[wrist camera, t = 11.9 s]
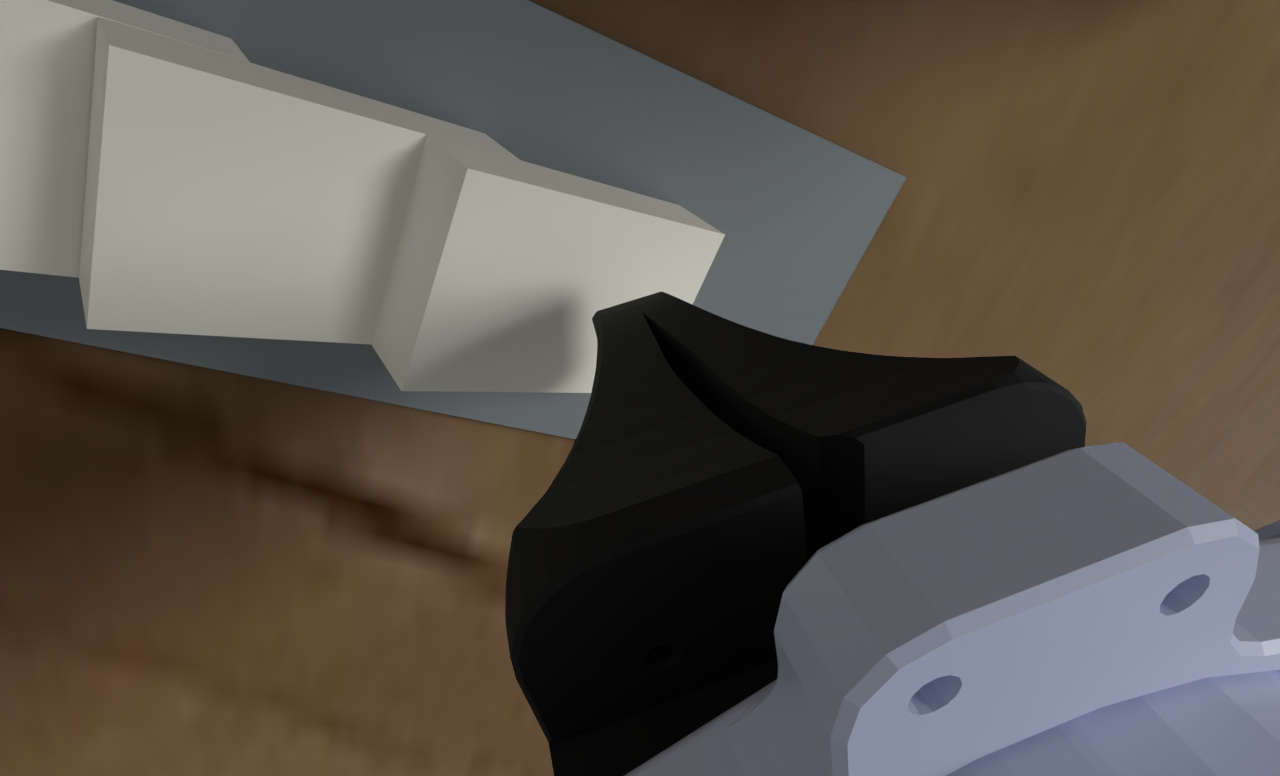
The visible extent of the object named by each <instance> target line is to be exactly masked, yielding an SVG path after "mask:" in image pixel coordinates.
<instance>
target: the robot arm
mask: <svg viewBox="0 0 1280 776" xmlns="http://www.w3.org/2000/svg"><path fill="white" fill-rule="evenodd" d="M592 321H593V325H594V329H595V332H596V336H597V361H596V371H595V376H594V382H593V387H592V392H591V397H590V401H589V404H588V408H587V411H586V414H585V417H584V420H583V423H582V426H581V429H580V431H579V433H578V435H577V438H576V440H575V442H574V445H573V447H572V449H571V451H570V453H569V455H568V457H567V459H566V461H565V463H564V464H563V466H562V468H561V469H560V471H559V473H558V474H557V476H556V477H555V479H554V481H553V482H552V484H551V485H550V487H549V489H548V490H547V492H546V493H545V494H544V495H543V497H542V498H541V499H540V500H539V501H538V502H537V504H536V505H535V506H534V507H533V508H532V509H531V511H530V512H529V513H528V514H527V515H526V517H525V518H524V519H523V520H522V521H521V522H520V523H519V524H518V525H517V526H516V528H515V529H514V531H513V536H512V541H511V548H510V554H509V561H508V570H507V580H506V611H505V616H506V629H507V636H508V643H509V650H510V657H511V661H512V665H513V669H514V672H515V676H516V679H517V681H518V683H519V685H520V687H521V689H522V691H523V693H524V695H525V697H526V699H527V701H528V703H529V705H530V707H531V709H532V711H533V713H534V715H535V716H536V718H537V720H538V722H539V724H540V726H541V728H542V730H543V732H544V734H545V736H546V738H547V740H548V741H549V747H550V753H551V759H552V765H553V770H554V776H1280V520H1279V521H1277V522H1274V523H1272V524H1269V525H1266V526H1264V527H1261V528H1259V529H1256V530H1254V531H1253V530H1251V529H1250V528H1248V527H1247V526H1245V525H1244V524H1242V523H1241V522H1240V521H1238V520H1237V519H1235V518H1234V517H1232V516H1231V515H1229V514H1228V513H1226V512H1225V511H1223V510H1222V509H1220V508H1219V507H1217V506H1216V505H1215V504H1213V503H1212V502H1210V501H1209V500H1207V499H1206V498H1204V497H1203V496H1201V495H1200V494H1198V493H1197V492H1195V491H1194V490H1192V489H1191V488H1189V487H1188V486H1187V485H1185V484H1184V483H1182V482H1181V481H1179V480H1178V479H1176V478H1175V477H1173V476H1172V475H1170V474H1169V473H1167V472H1166V471H1164V470H1163V469H1162V468H1160V467H1159V466H1157V465H1156V464H1154V463H1153V462H1151V461H1150V460H1148V459H1147V458H1145V457H1144V456H1142V455H1141V454H1139V453H1138V452H1137V451H1135V450H1134V449H1132V448H1131V447H1129V446H1128V445H1126V444H1125V443H1123V442H1118V443H1111V444H1104V445H1097V446H1089V447H1084V446H1085V434H1086V420H1085V416H1084V413H1083V409H1082V406H1081V404H1080V403H1079V402H1078V401H1077V400H1076V398H1075V397H1074V396H1073V395H1072V394H1071V393H1070V392H1069V391H1068V390H1067V389H1065V388H1064V387H1062V386H1061V385H1059V384H1057V383H1056V382H1054V381H1053V380H1051V379H1050V378H1048V377H1047V376H1045V375H1044V374H1042V373H1041V372H1039V371H1038V370H1036V369H1035V368H1033V367H1032V366H1030V365H1029V364H1027V363H1026V362H1024V361H1022V360H1021V359H1019V358H1018V357H1016V356H997V357H969V358H917V357H895V356H882V355H872V354H864V353H856V352H848V351H840V350H834V349H829V348H823V347H818V346H813V345H809V344H805V343H800V342H796V341H791V340H787V339H784V338H780V337H776V336H773V335H770V334H767V333H764V332H761V331H758V330H755V329H752V328H749V327H746V326H743V325H740V324H738V323H735V322H732V321H730V320H727V319H725V318H722V317H720V316H717V315H715V314H713V313H710V312H708V311H706V310H703V309H701V308H699V307H697V306H694V305H692V304H690V303H688V302H686V301H683V300H681V299H679V298H677V297H674V296H672V295H670V294H667V293H665V292H662V291H661V292H658V293H654V294H651V295H648V296H645V297H641V298H638V299H635V300H632V301H628V302H625V303H622V304H619V305H615V306H612V307H609V308H606V309H602V310H599V311H596V313H595V315H594V316H593V318H592Z"/></svg>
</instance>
